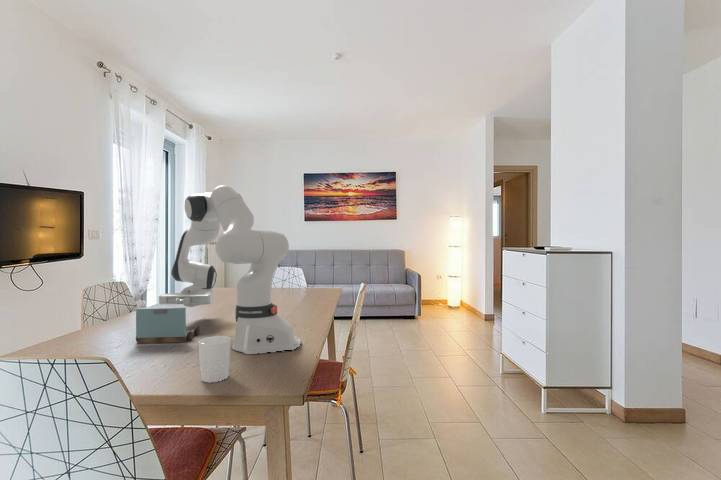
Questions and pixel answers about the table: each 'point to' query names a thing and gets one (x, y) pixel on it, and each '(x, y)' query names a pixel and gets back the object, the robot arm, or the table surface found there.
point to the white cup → (214, 358)
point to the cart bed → (189, 334)
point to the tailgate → (160, 322)
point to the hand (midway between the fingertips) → (179, 302)
